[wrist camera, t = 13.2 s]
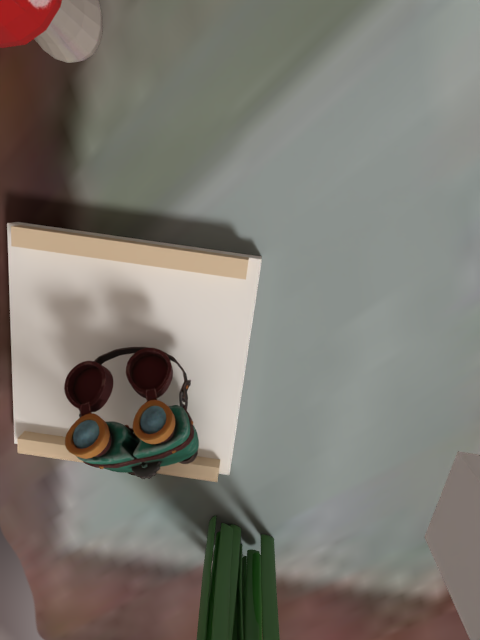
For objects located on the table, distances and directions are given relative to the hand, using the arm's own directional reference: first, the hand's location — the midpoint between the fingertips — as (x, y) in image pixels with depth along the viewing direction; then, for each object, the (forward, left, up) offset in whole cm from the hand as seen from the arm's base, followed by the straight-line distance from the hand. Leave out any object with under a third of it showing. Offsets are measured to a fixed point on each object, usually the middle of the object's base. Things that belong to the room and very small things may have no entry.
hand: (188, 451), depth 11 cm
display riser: (+8, -8, -25) cm, 27 cm away
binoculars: (+8, -8, -24) cm, 26 cm away
